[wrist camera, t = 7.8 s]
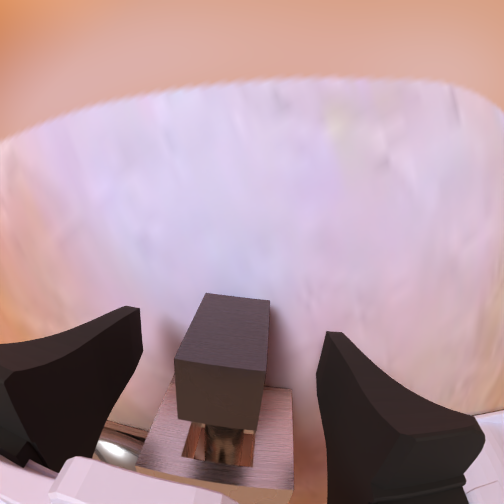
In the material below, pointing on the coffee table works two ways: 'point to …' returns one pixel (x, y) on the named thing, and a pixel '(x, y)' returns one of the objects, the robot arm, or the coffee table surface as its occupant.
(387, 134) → the coffee table surface
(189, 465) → the square metal collar
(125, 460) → the handwheel
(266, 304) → the square dumbbell
